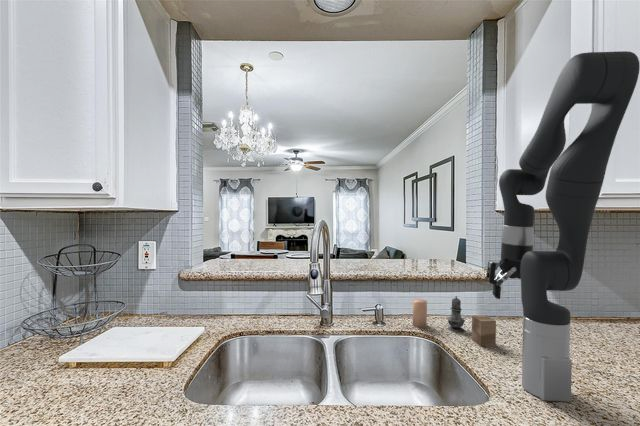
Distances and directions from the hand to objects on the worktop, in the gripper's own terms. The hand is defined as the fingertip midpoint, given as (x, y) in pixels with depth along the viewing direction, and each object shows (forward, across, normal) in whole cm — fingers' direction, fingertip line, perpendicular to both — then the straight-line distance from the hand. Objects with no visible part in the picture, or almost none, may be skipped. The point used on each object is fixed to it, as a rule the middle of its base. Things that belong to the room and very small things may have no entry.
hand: (513, 299), depth 91 cm
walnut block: (+19, -3, +12) cm, 22 cm away
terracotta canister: (+20, -20, +25) cm, 38 cm away
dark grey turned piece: (+20, -8, +22) cm, 31 cm away
